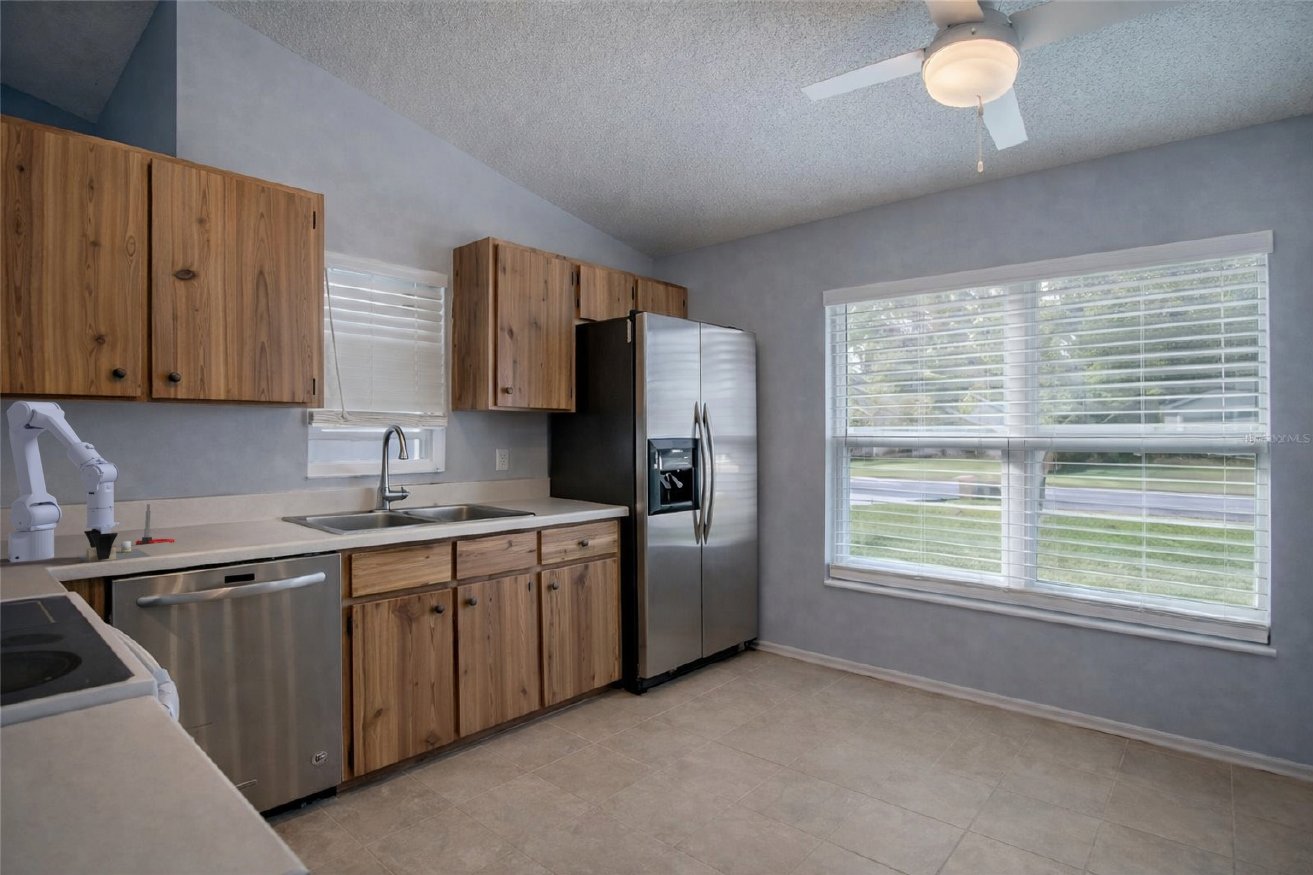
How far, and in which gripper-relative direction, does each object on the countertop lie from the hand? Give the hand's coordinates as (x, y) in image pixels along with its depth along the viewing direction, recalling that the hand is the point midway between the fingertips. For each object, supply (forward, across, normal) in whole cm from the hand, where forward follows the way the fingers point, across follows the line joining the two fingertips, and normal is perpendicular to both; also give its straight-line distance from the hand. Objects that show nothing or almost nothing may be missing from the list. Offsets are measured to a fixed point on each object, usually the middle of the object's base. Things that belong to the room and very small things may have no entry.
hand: (100, 557), depth 188 cm
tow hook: (+2, +27, -18) cm, 33 cm away
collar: (0, 0, 0) cm, 0 cm away
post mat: (+2, +4, -4) cm, 6 cm away
